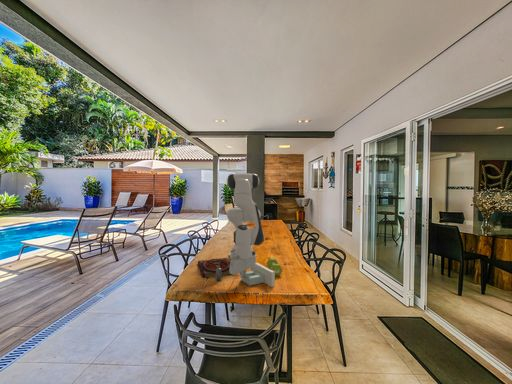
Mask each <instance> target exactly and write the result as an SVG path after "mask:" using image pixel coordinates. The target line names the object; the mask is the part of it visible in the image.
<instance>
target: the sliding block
mask: <svg viewBox="0 0 512 384" xmlns="http://www.w3.org/2000/svg"><path fill="white" fill-rule="evenodd" d="M240 280H241V281H242V282H244V283H245V284H247V285H248V286H255V285H258V284H262V283H265V275H263V274H261V273H260V272H258V271H256V270H255V271H250V270H249V271H246V274H245V278H243V279H242V278H241V277H240Z"/></svg>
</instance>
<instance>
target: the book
mask: <svg viewBox="0 0 512 384" xmlns="http://www.w3.org/2000/svg"><path fill="white" fill-rule="evenodd" d="M230 262H231V260H229V259H228V258H227V257H220V258H211V259H209V258H208V259H202V260H198V261H197V265H198V268H199V270H200V274H201V277H202V278H204V279H205V278H207V277H216V268H221V276H229V275H233V274H230V273H229V268H230Z"/></svg>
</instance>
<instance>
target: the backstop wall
mask: <svg viewBox="0 0 512 384" xmlns="http://www.w3.org/2000/svg"><path fill="white" fill-rule="evenodd" d="M255 270H256V271H258V272H260V273H261V274H263V275H265V282H264V283H265V284H266V285H268V286H270V287H275V283H276V280H275V278H276V276H275V272H274V271H272V270H270V269H269V268H268V267H267V266H264V265H263V264H260V263H258V262H256V264H255V266H254V267H251V268H249V272H250V271H255Z"/></svg>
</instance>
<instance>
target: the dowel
mask: <svg viewBox="0 0 512 384" xmlns="http://www.w3.org/2000/svg"><path fill="white" fill-rule="evenodd" d="M221 281H222V275H221V268H216V276H215V282H221Z"/></svg>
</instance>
